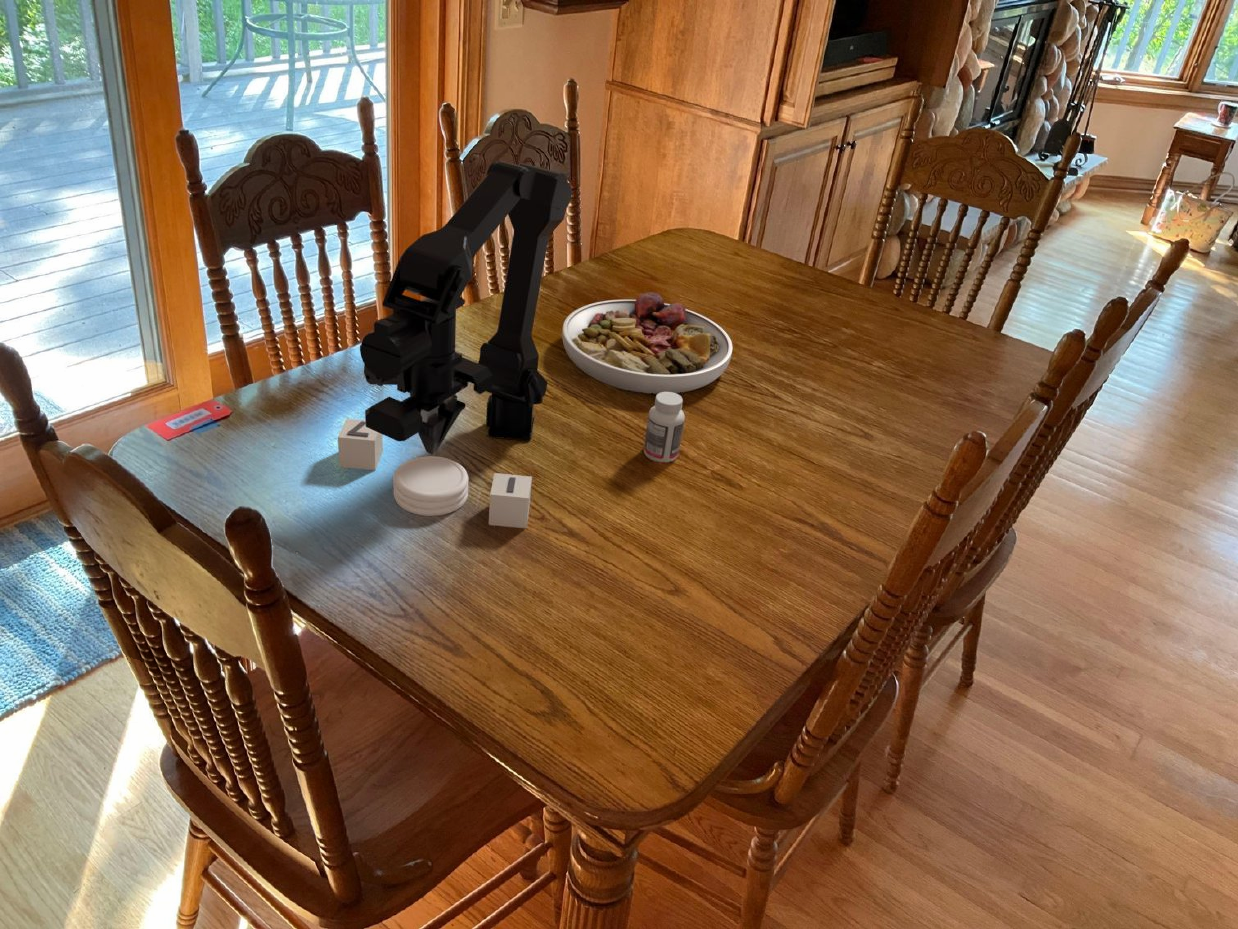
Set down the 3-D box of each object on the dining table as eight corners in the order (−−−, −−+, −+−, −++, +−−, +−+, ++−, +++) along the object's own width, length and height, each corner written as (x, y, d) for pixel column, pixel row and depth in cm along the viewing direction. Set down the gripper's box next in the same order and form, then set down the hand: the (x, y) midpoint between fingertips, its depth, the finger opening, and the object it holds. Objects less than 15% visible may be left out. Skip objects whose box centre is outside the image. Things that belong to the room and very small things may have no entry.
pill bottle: (670, 442, 151) (679, 387, 146) (683, 461, 147) (693, 405, 142) (637, 446, 149) (645, 390, 144) (650, 465, 145) (659, 408, 140)
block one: (529, 506, 133) (532, 475, 130) (526, 528, 129) (528, 497, 126) (493, 503, 133) (494, 471, 130) (488, 525, 129) (490, 493, 126)
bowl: (734, 411, 162) (742, 369, 158) (554, 392, 161) (558, 349, 156) (721, 332, 187) (728, 294, 183) (566, 315, 186) (569, 276, 182)
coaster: (386, 480, 135) (386, 459, 133) (457, 471, 139) (457, 450, 137) (402, 523, 127) (402, 501, 126) (476, 511, 131) (477, 490, 129)
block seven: (383, 451, 140) (382, 420, 138) (375, 470, 136) (374, 439, 133) (348, 448, 140) (346, 417, 137) (339, 467, 136) (337, 435, 133)
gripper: (429, 304, 131) (429, 405, 139) (328, 352, 117) (334, 460, 125) (497, 330, 126) (492, 432, 135) (400, 382, 112) (402, 492, 121)
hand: (431, 452), depth 129 cm, fingers closed
